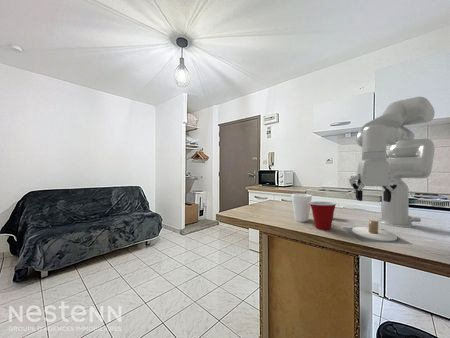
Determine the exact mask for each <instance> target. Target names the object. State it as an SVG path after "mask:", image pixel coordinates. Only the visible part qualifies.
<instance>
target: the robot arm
mask: <svg viewBox="0 0 450 338" xmlns="http://www.w3.org/2000/svg"><path fill="white" fill-rule="evenodd" d="M435 112H436V111H435V108H434V106H433V104H431V102H430V100H428V98H426V97H425V96H416V97H415V96H414V97H410V98H406V99H401V100H396V101H393V102H392V103H390V104H389V105H388V106H387V107H386V108H385V110H384V111H383V113H382V114H381V115H380V116H378V117H376V118H374V119H372V120H370V121H368V122H366V123H365V124H363V125H362V127H360V129H359V131H358V133H357V134H356V144H357V146H359V147H361V160H359V161H358V162H359V163H358V165H357V172H356V175H355V176H353V177H350V178H349V179H348V182H349V184H350V186H351V187H352V188H353V189H354V190H355V198H356V200H357V201H360V202H362V201H363V197H364V195H363V194H364V193H363V188H364V187H381V217H380V218H377V221H378V223H380V224H383V225H387V226H391V227H397V228H413V227H414V225H413V222H415V223H420V222H421V220H422V219H421V218H420V217H417V216H416V217H413V216H410V215H409V202H410V201H409V194H410V193H409V190H410V189H409V186H408V184H407V183H406V182H405V181H404V179H421V180H422V179H427V178H428V177H430V175H431V174H432V169H433V163H434V159H435V158H434V157H435V143H434V142H433V140H431V139H429V138H415V137H416V136H415V133H414V132H413V131H412V130H411V129H409V128H407V127H406V126H411V125H420V124H426V123H429V122H431V121H432V120H434V118H435ZM387 147H388V150H387ZM355 181H356V182H355Z"/></svg>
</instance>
